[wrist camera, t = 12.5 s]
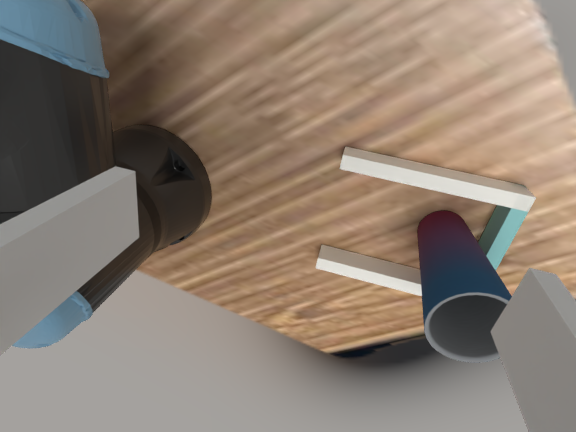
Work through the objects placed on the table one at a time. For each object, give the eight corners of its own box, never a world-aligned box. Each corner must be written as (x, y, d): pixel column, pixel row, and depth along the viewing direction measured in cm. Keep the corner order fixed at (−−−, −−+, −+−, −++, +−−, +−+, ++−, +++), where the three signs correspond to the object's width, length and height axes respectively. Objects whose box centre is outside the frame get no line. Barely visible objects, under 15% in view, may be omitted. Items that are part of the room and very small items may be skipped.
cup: (479, 251, 39) (529, 360, 26) (415, 261, 41) (432, 365, 28) (471, 196, 37) (523, 286, 24) (403, 210, 39) (416, 298, 26)
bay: (319, 254, 44) (315, 268, 41) (345, 146, 37) (342, 154, 34) (467, 292, 42) (473, 309, 39) (524, 185, 35) (536, 197, 32)
